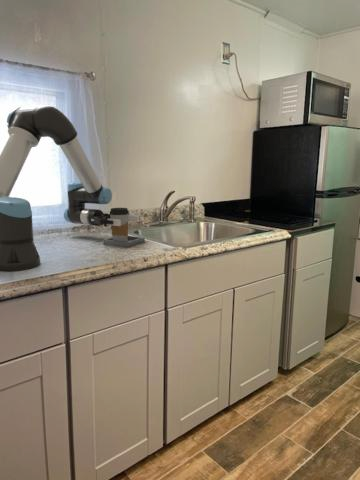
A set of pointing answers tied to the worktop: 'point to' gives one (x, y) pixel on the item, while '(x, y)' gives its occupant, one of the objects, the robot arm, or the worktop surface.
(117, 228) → the coffee cup
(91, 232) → the worktop surface
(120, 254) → the worktop surface
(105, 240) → the dish
